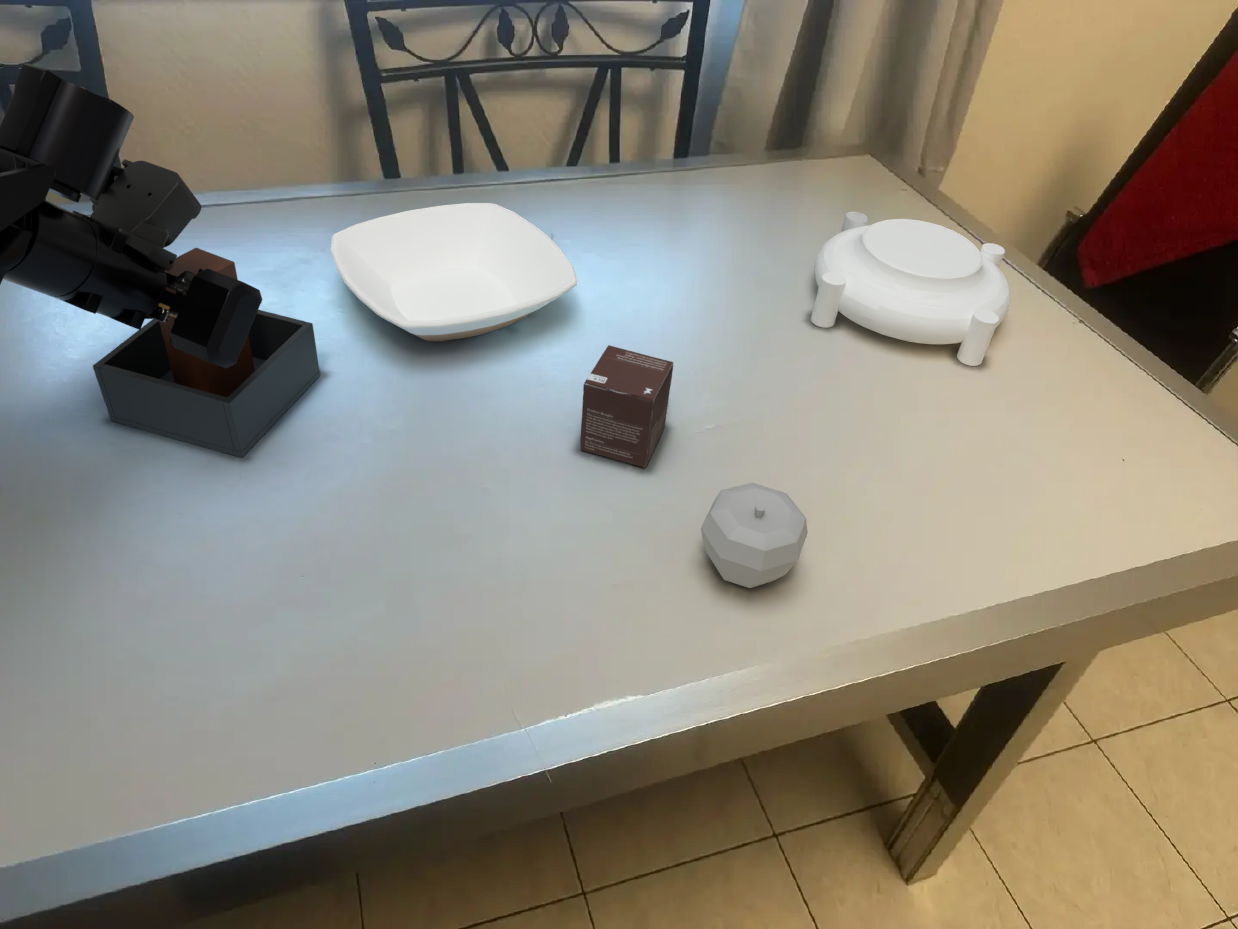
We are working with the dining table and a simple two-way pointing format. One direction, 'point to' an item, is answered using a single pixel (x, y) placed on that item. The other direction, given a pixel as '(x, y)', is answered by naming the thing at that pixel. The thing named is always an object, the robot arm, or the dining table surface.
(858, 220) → the round stand with pegs
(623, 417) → the box
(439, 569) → the dining table surface
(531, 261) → the bowl
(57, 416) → the dining table surface
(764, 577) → the apple
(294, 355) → the open storage bin
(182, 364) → the chocolate carton
